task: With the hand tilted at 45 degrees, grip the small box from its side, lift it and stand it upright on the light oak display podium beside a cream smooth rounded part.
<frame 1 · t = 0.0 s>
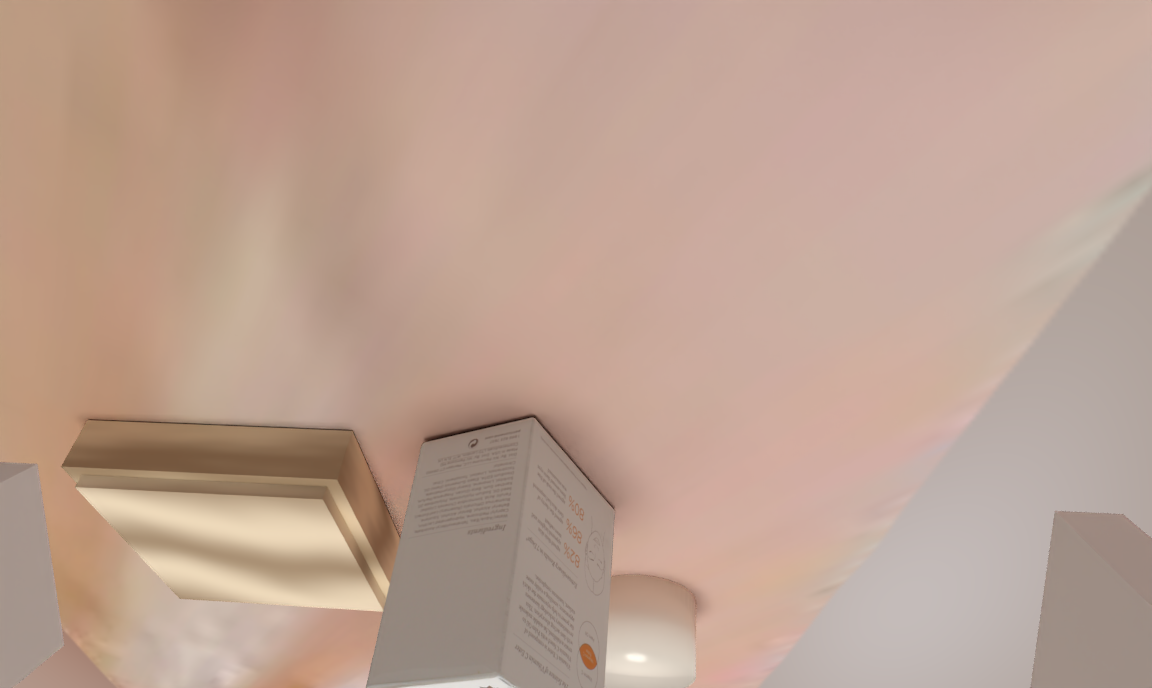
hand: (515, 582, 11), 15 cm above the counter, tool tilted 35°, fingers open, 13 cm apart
small box: (524, 471, 38), on the counter
cream smooth rounded part: (639, 598, 47), on the counter
podium: (264, 497, 42), on the counter
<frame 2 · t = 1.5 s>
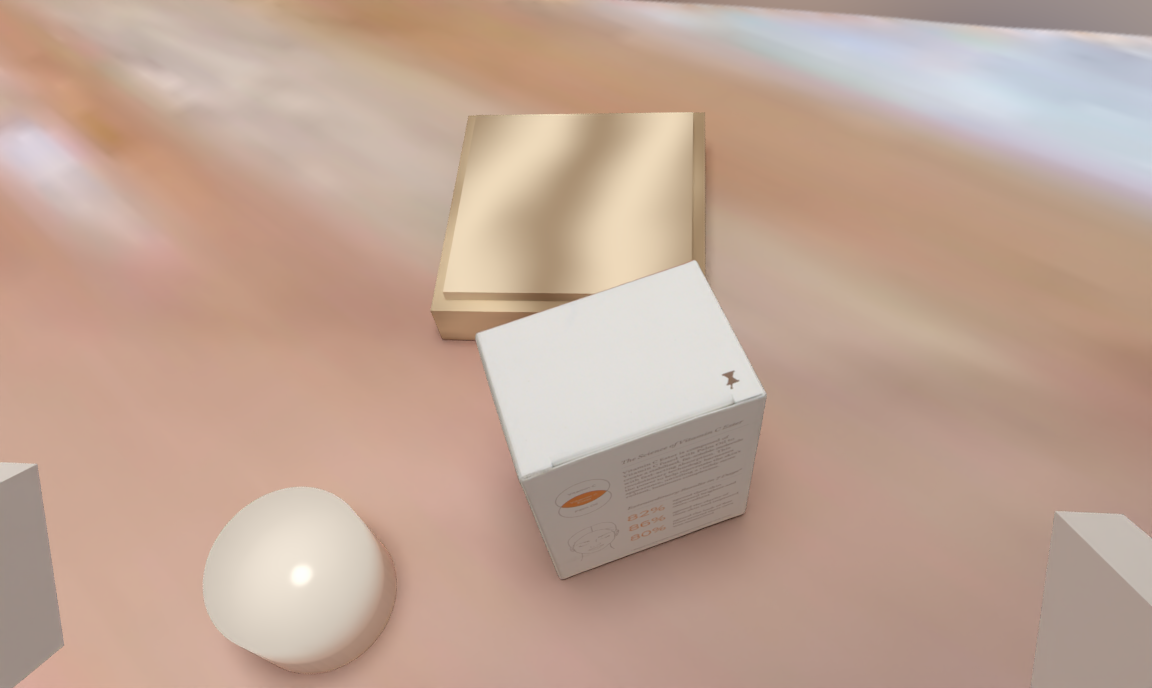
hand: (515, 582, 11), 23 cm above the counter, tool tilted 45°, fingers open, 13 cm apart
small box: (629, 490, 36), on the counter
cream smooth rounded part: (323, 595, 35), on the counter
podium: (580, 237, 43), on the counter
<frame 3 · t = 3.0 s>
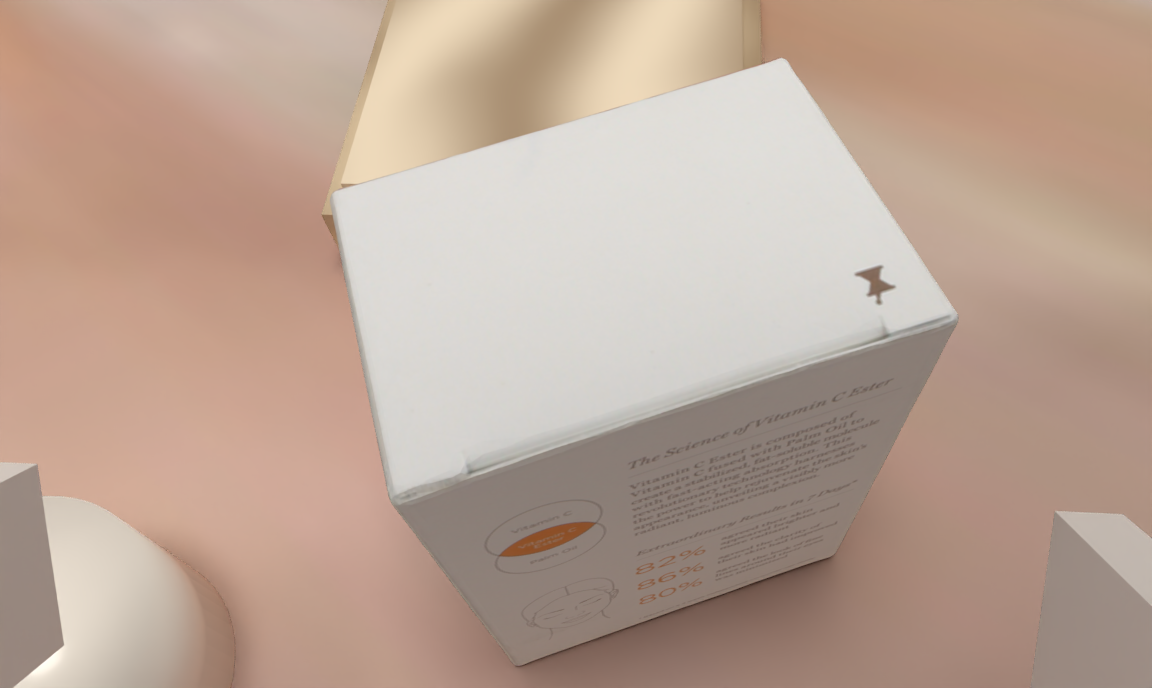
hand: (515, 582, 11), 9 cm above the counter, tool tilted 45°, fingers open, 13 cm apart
small box: (637, 510, 22), on the counter
cream smooth rounded part: (108, 683, 20), on the counter
podium: (566, 122, 28), on the counter
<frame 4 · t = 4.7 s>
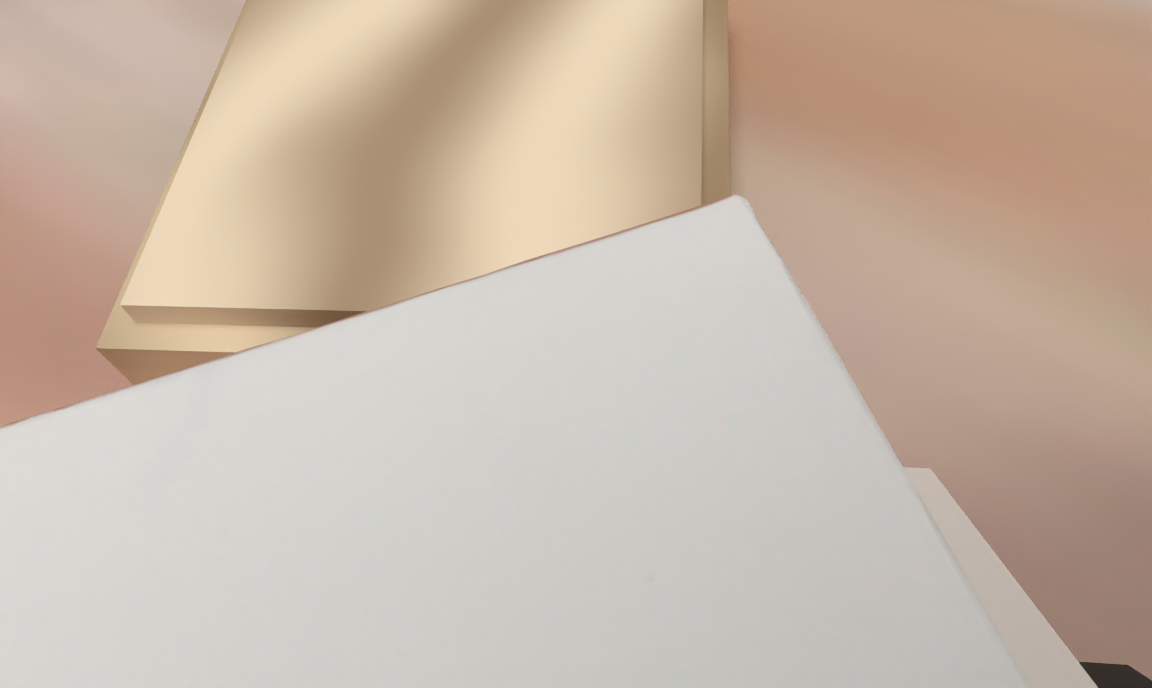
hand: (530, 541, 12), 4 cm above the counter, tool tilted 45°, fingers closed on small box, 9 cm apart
podium: (471, 196, 21), on the counter
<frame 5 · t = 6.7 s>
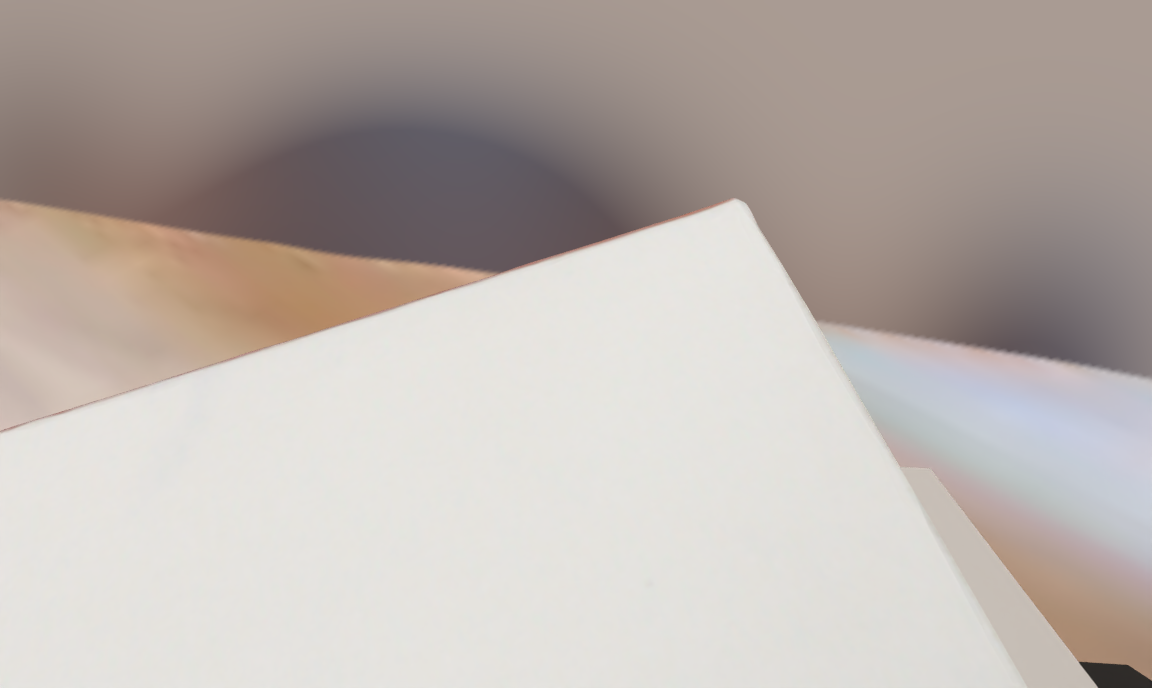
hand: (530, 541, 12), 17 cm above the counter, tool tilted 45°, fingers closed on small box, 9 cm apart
when the fingers open (8 cm above the counter, at t = 8.8 s): small box drops 1 cm, resting on podium.
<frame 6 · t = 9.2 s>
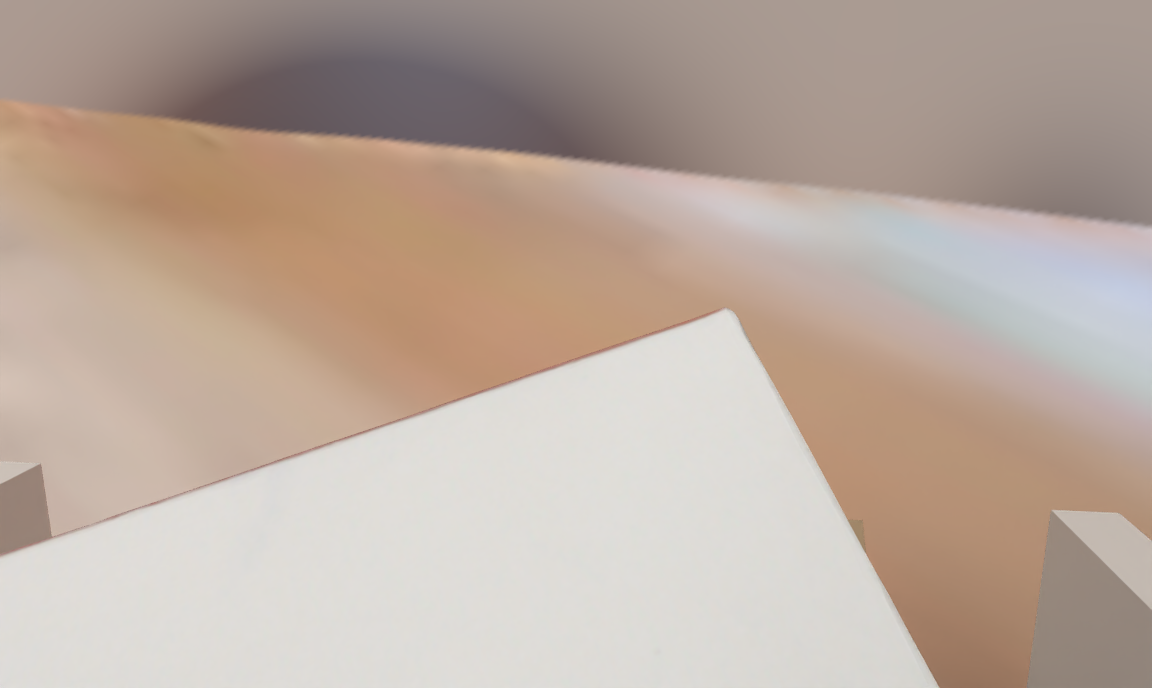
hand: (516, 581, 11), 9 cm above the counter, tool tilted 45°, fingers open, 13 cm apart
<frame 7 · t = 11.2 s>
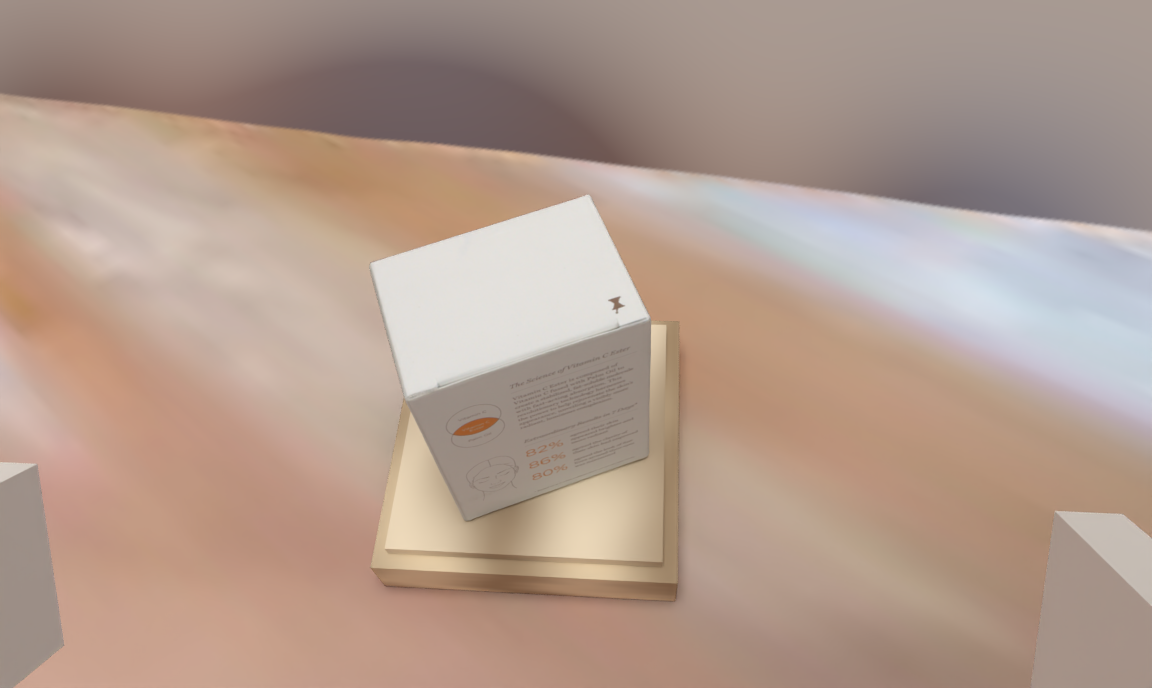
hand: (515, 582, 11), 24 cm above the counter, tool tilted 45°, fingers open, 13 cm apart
small box: (537, 436, 36), point 3 cm above the counter, touching podium
podium: (541, 459, 39), on the counter
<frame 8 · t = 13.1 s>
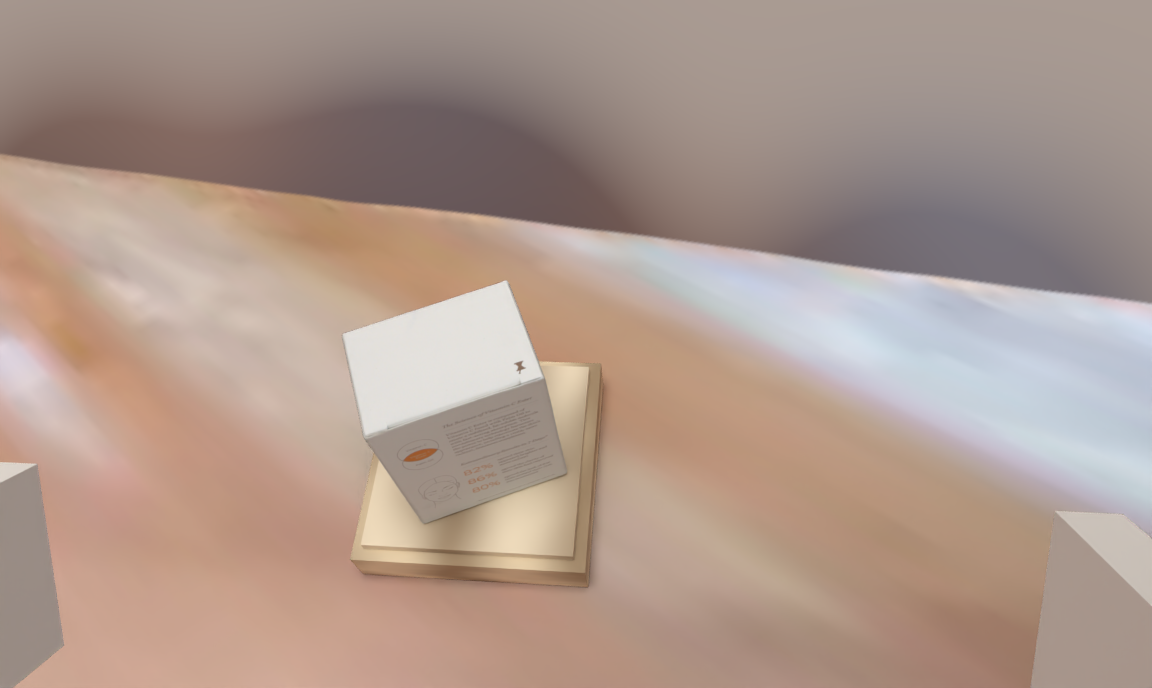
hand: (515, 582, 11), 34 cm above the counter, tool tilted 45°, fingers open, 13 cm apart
small box: (482, 457, 46), point 3 cm above the counter, touching podium
podium: (489, 474, 49), on the counter
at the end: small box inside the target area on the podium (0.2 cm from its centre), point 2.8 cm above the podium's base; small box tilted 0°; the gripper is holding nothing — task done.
